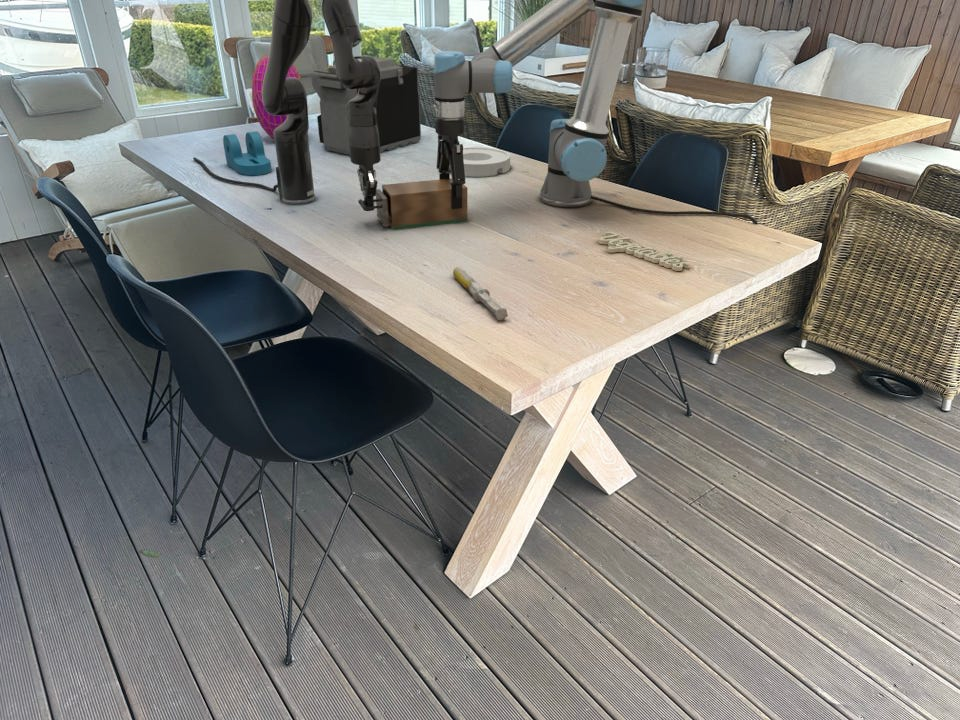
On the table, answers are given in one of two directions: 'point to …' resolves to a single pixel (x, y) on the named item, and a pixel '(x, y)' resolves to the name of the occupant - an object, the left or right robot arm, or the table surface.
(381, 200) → the drawer
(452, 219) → the cabinet
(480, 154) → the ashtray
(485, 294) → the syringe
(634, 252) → the decorative sign
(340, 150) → the electronic device
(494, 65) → the right robot arm
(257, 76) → the decorative egg
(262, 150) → the camera mount
